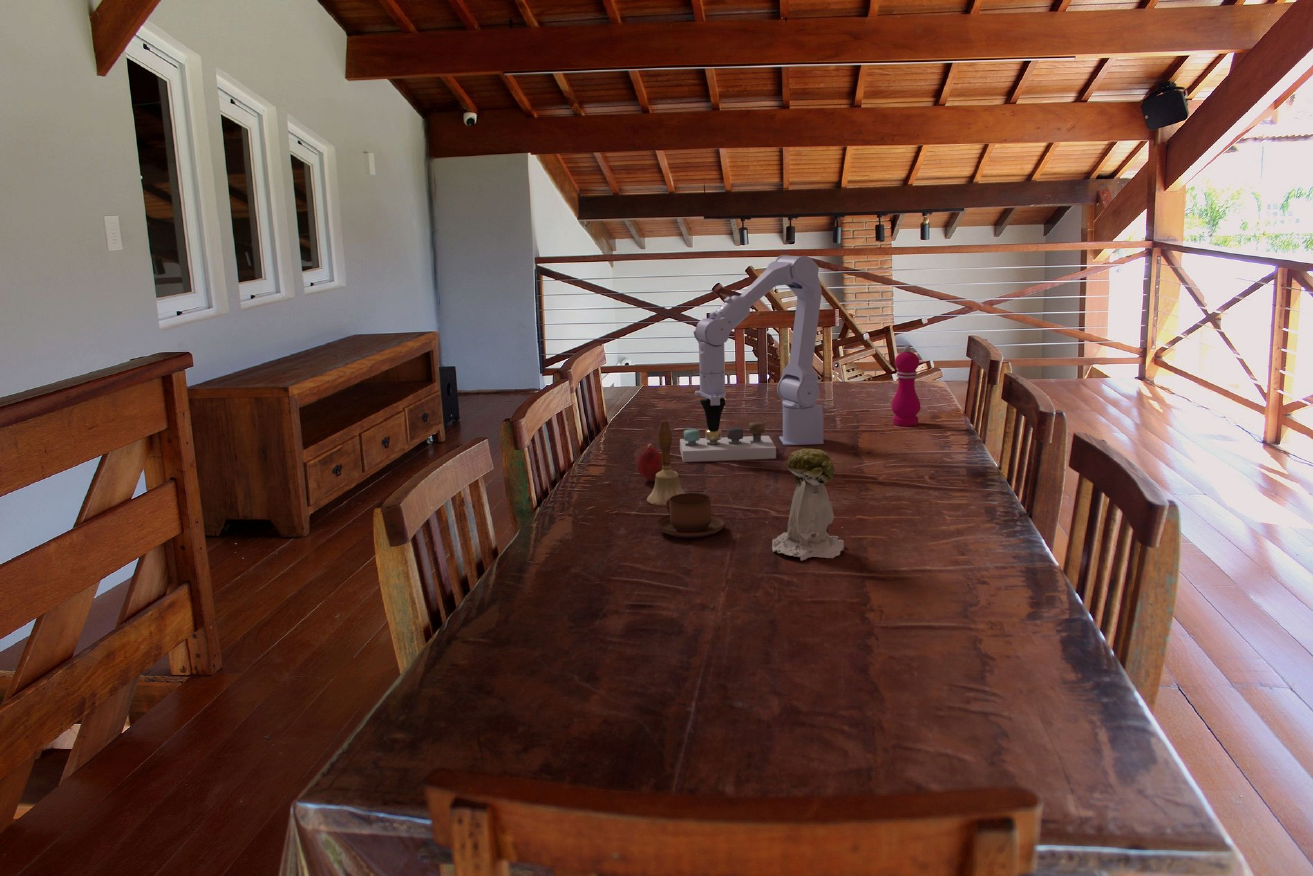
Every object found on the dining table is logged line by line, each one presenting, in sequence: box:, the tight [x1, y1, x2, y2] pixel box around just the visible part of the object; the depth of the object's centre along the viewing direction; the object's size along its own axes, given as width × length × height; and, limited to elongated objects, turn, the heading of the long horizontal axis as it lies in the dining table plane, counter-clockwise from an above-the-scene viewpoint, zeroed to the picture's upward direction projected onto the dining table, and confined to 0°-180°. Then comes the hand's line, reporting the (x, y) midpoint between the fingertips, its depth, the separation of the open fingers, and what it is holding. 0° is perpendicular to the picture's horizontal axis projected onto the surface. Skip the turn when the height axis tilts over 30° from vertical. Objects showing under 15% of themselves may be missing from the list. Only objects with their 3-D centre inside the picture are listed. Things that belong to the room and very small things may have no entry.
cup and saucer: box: [656, 492, 726, 539], centre depth 177 cm, size 12×12×6 cm
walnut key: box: [748, 421, 766, 442], centre depth 230 cm, size 4×4×4 cm
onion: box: [636, 443, 663, 482], centre depth 210 cm, size 6×6×8 cm
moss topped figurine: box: [771, 448, 845, 561], centre depth 165 cm, size 11×12×17 cm
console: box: [679, 435, 777, 463], centre depth 231 cm, size 21×12×2 cm, turn 92°
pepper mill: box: [890, 345, 921, 427], centre depth 253 cm, size 7×7×20 cm
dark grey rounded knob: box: [726, 427, 744, 445], centre depth 230 cm, size 4×4×4 cm
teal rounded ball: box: [683, 428, 701, 446], centre depth 230 cm, size 4×4×4 cm
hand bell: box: [646, 419, 686, 507], centre depth 195 cm, size 8×8×16 cm
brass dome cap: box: [705, 428, 722, 445], centre depth 230 cm, size 4×4×4 cm
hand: (713, 430), depth 230 cm, fingers closed, pressing on brass dome cap
